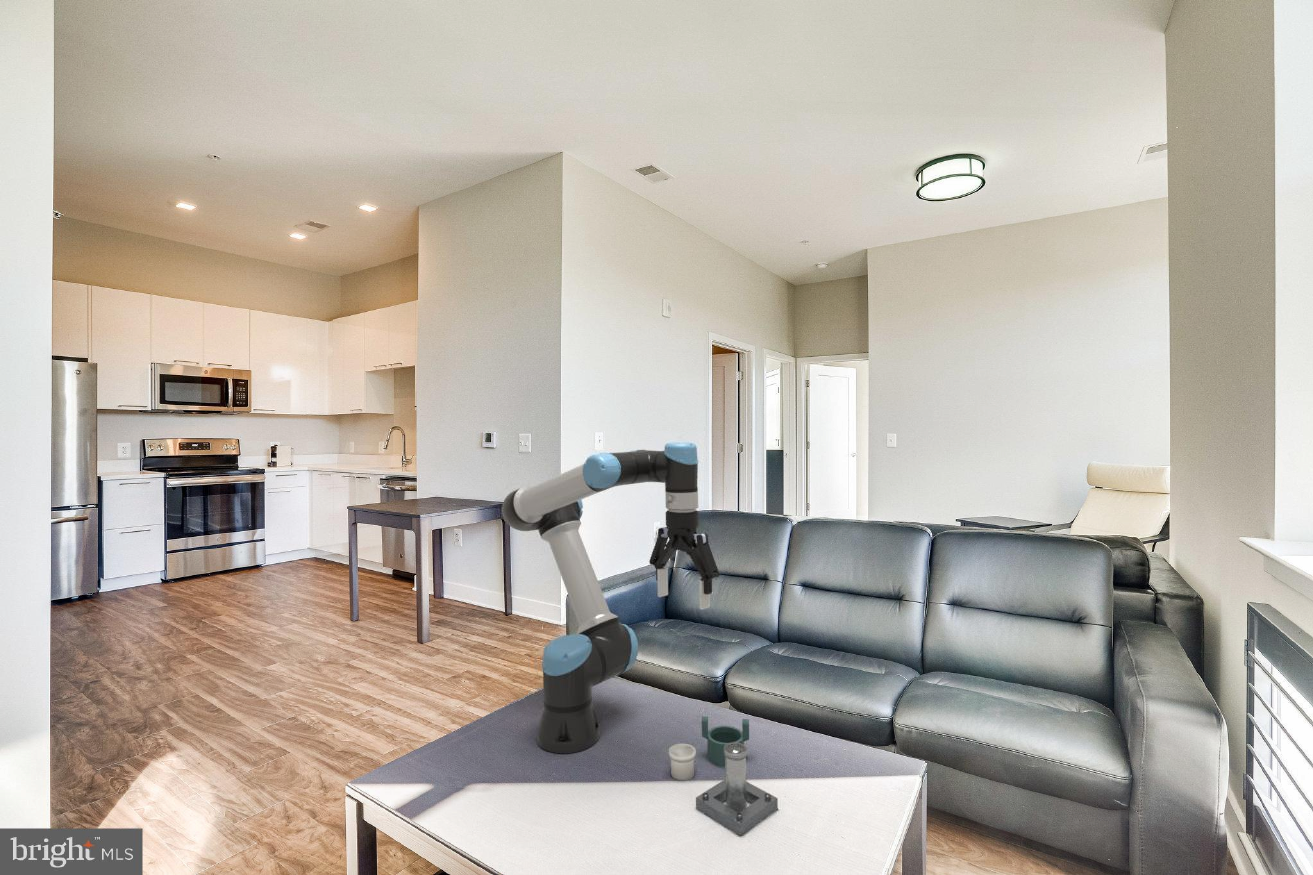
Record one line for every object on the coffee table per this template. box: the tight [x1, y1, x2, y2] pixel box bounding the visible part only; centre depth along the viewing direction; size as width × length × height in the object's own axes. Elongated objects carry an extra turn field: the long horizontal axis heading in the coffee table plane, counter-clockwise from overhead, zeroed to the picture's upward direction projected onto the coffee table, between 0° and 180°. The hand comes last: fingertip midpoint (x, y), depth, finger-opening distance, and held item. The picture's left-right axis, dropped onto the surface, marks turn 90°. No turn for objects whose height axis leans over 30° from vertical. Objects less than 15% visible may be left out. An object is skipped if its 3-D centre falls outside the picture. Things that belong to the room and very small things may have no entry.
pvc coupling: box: [668, 743, 697, 781], centre depth 133 cm, size 6×6×5 cm
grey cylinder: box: [724, 743, 748, 813], centre depth 120 cm, size 5×5×12 cm
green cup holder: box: [701, 716, 750, 768], centre depth 139 cm, size 9×9×9 cm
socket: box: [695, 778, 779, 837], centre depth 120 cm, size 11×11×3 cm
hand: (683, 601), depth 141 cm, fingers open, 13 cm apart
